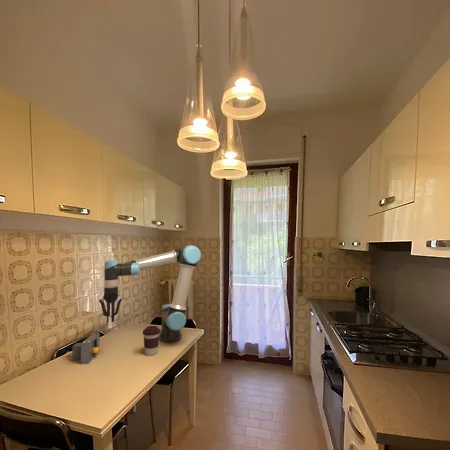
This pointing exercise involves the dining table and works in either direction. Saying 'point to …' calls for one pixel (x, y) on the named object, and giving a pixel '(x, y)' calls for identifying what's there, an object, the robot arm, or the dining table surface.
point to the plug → (77, 351)
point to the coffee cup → (151, 340)
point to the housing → (89, 347)
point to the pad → (68, 354)
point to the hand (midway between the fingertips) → (110, 327)
